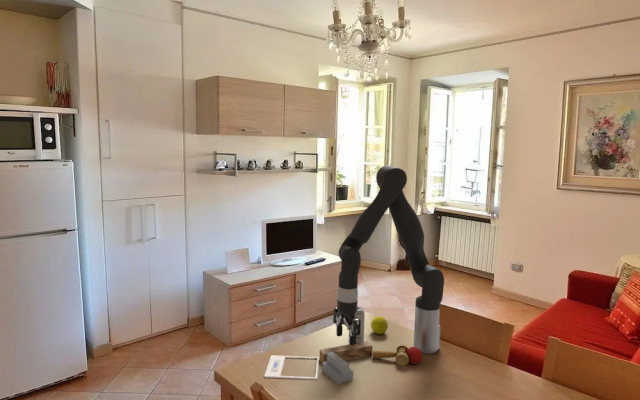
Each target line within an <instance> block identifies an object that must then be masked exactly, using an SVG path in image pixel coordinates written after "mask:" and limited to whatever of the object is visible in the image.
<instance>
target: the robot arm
mask: <svg viewBox="0 0 640 400" xmlns="http://www.w3.org/2000/svg"><path fill="white" fill-rule="evenodd" d="M375 179H376V184H377V186H378V189H379V190H378V193H377V194H376V196H375V198H374V199H373V201H372V202H371V203H370V204H369V205H368V206H367V208H365V210H363V212H362V213H361V214H360V215H359V217H358V219H357V221H356V222H355V224H354V226H353V227H352V230H351V232H350V233H349V234H348V235H347V237H346V238H345V239H344V241H343V242H342V243H341V245H340V246H339V249H338V257H339V258H340V261H341V262H340V263H341V265H340V266H341V268H340V271H339V274H338V288H337V299H336V300H337V301H336V307H335V308H333V317H332V323H333V324H335V326H336V336H337V337H339V338H340V337H342V336H343V330H344V329H343V325H344V326H345V327H346V330H347V331H348V334H349V333H350V345H351V346H352V345H355V344H356V336H358V335H360V330H361V320H360V319H356V318H355V313H356V312H357V307H358V302H359V299H358V297H359V292H358V291H359V290H358V289H359V288H358V286H359V272H360V266H361V261H362V260H361V259H362V258H361V253H360V250H361V248H362V246H363V245H364V244H366V243H368V242H369V240H370V239H371V237H372V235H373V233H374V232H375V230H376V228H377V226H378V224H379V222H380V221H381V220H382V218H383V216H384V215H385V214H386V212H387V210H389V212H390V215H391V218H392V222H393V225H394V227H395V229H396V234H397V235H398V237H399V240H400V242H401V245H402V248H403V249H404V252H405V254H406V257H407V260H408V264H409V268H410V271H411V276H412V280H413V281H414V283H415V284H416V285H417V286H419V287H420V288H421V295H420V296H419V295H418V296H417V297H416V299H415V304H414V305H415V306H414V307H415V309H414V326H413V327H414V332H413V347H417V348H419V349H420V350H421V352H422V354H435V353H437V352H438V350H440V348H441V346H440V345H441V344H440V343H441V325H440V311H441V310H440V309H441V304H442V302H443V298H444V297H443V296H444V290H445V289H444V288H445V277H444V273H443V271H441V270H440V269H439V268H437V267H435V266H432V265H431V264H430V262H429V260H428V258H427V255H426V253H425V248H424V247H425V246H424V245H425V234H424V230H423V227H422V223H421V221H420V218H419V216H418V215H417V213H416V211H415V209H413V207H412V205H411V204H410V202H409V201H408V200H407V197H406V196H405V193H404V188H405V186H406V185H407V182H408V176H407V173H406V171H405V170H403V168H400V167H398V166H393V165H383V166H381V167H380V168H379V169H378V170H377V172H376V176H375ZM352 324H353V326H352V327H350V326H351V325H352ZM352 329H353V332H352Z"/></svg>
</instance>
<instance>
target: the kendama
mask: <svg viewBox="0 0 640 400" xmlns="http://www.w3.org/2000/svg"><path fill="white" fill-rule="evenodd" d="M388 358H395V363H396V364H398V366H402V367H403V366H404V367H405V366H406V365H408V364H409V363H410V364H412V365H417V364H419V363H420V362H422V359H423V353H422V352H421V350H420V349H419V348H417V347H414V346H410V347H408V346H407V345H405V344H399V345H398V346H397V347H396V351H387V350H385V351H384V350H373V349H372V359H375V360H376V359H388Z"/></svg>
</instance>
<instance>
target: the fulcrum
mask: <svg viewBox="0 0 640 400" xmlns="http://www.w3.org/2000/svg"><path fill="white" fill-rule="evenodd" d="M321 363H322V362H321ZM321 370H322V372H324V374H326V375H327V376H328V377H329V378H330V379H331V380H333V382H335V383H336V384H337V385H340V384H344V383H347V382H349V381H351V380H354V371H353V370H352V369H351V368H350V363H348V362H347V360H343V359H342V358H340V357H339V356H338V355H337V354H335V353H334V352H329V353H327V361H326V362H323V363H322V369H321Z"/></svg>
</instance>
